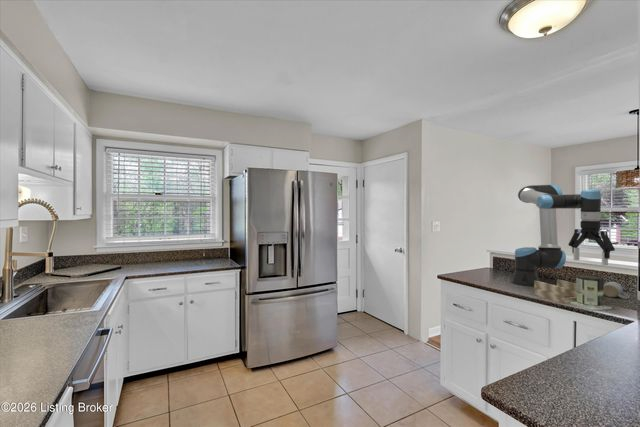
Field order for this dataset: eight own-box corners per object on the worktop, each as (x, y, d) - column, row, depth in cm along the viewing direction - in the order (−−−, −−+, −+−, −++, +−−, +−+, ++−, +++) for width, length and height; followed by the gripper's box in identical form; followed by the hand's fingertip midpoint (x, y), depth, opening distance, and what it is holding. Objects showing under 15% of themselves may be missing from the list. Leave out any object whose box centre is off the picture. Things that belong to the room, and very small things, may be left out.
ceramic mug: (600, 296, 167) (600, 282, 167) (604, 293, 171) (604, 280, 171) (627, 301, 158) (627, 286, 158) (630, 298, 163) (631, 284, 163)
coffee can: (594, 301, 154) (594, 274, 154) (609, 308, 144) (609, 278, 144) (571, 300, 156) (571, 273, 156) (584, 307, 146) (584, 278, 146)
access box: (534, 294, 171) (534, 280, 171) (558, 293, 173) (558, 279, 173) (563, 303, 154) (563, 288, 154) (589, 301, 157) (589, 286, 157)
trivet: (569, 303, 154) (569, 301, 154) (587, 302, 156) (587, 300, 156) (592, 310, 143) (592, 308, 143) (611, 309, 145) (611, 307, 145)
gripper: (560, 219, 162) (560, 258, 162) (612, 221, 137) (611, 267, 138) (572, 219, 163) (571, 258, 164) (625, 221, 139) (625, 267, 139)
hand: (589, 262), depth 151 cm, fingers open, 13 cm apart
